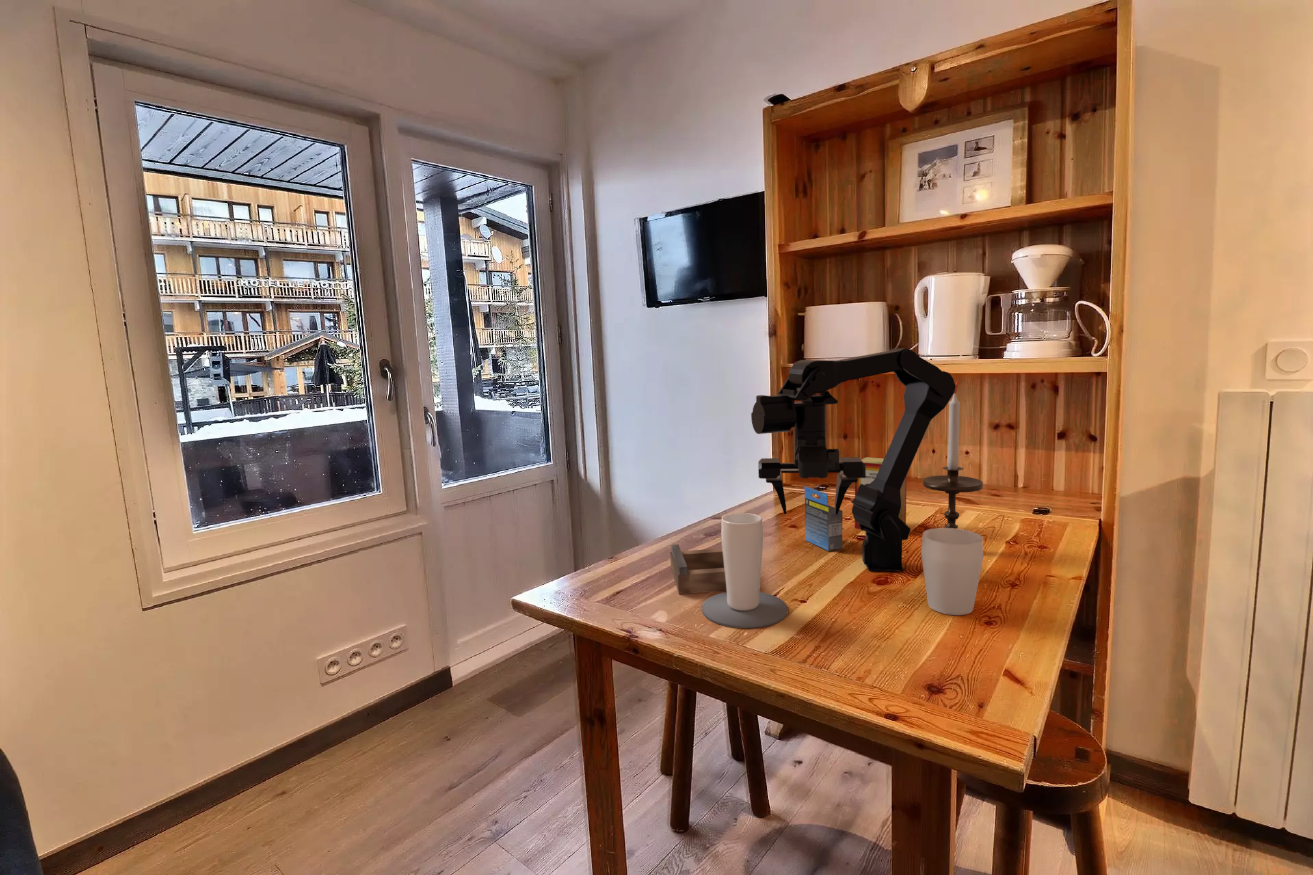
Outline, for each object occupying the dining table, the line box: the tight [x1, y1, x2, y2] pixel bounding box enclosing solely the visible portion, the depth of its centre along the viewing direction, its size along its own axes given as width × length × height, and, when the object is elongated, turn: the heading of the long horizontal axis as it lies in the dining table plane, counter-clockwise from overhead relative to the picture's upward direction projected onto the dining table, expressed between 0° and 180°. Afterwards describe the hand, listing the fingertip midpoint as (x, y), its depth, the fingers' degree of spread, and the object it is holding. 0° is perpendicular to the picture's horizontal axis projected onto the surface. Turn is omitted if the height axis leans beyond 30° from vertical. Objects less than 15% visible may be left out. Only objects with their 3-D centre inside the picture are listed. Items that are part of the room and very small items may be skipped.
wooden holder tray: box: [669, 544, 727, 595], centre depth 121 cm, size 13×13×5 cm
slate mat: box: [701, 591, 789, 629], centre depth 107 cm, size 14×14×1 cm
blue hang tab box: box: [803, 485, 844, 552], centre depth 137 cm, size 9×4×12 cm, turn 20°
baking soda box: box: [854, 456, 908, 530], centre depth 147 cm, size 10×6×16 cm
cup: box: [920, 527, 984, 616], centre depth 103 cm, size 9×9×12 cm
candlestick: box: [922, 378, 984, 529], centre depth 129 cm, size 11×11×35 cm
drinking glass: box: [720, 512, 764, 611], centre depth 106 cm, size 7×7×15 cm
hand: (810, 513), depth 119 cm, fingers open, 9 cm apart
